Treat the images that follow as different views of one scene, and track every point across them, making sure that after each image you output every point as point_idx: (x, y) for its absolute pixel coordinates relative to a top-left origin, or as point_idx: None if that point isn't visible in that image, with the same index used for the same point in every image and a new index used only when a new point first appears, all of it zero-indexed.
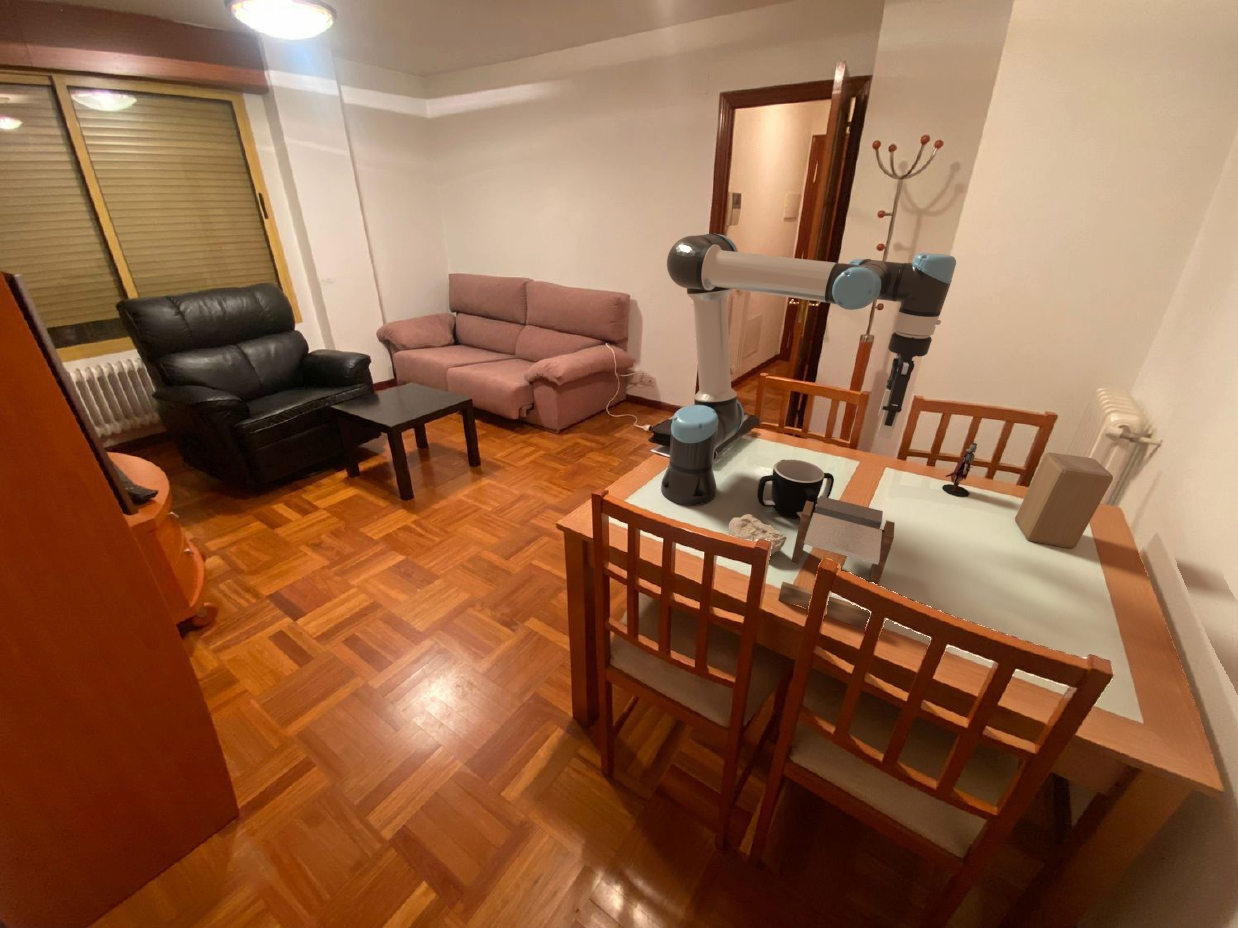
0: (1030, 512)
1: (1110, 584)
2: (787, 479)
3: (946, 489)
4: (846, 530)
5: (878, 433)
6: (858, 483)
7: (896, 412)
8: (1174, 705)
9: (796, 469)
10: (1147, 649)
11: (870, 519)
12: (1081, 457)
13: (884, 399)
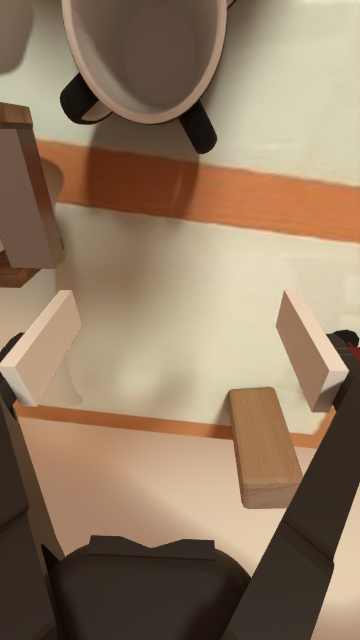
0: (250, 410)
1: (182, 422)
2: None
3: (339, 334)
4: None
5: (55, 299)
6: (336, 204)
7: (19, 396)
8: (54, 418)
9: (214, 13)
10: (105, 421)
11: (6, 249)
12: None
13: (307, 340)
